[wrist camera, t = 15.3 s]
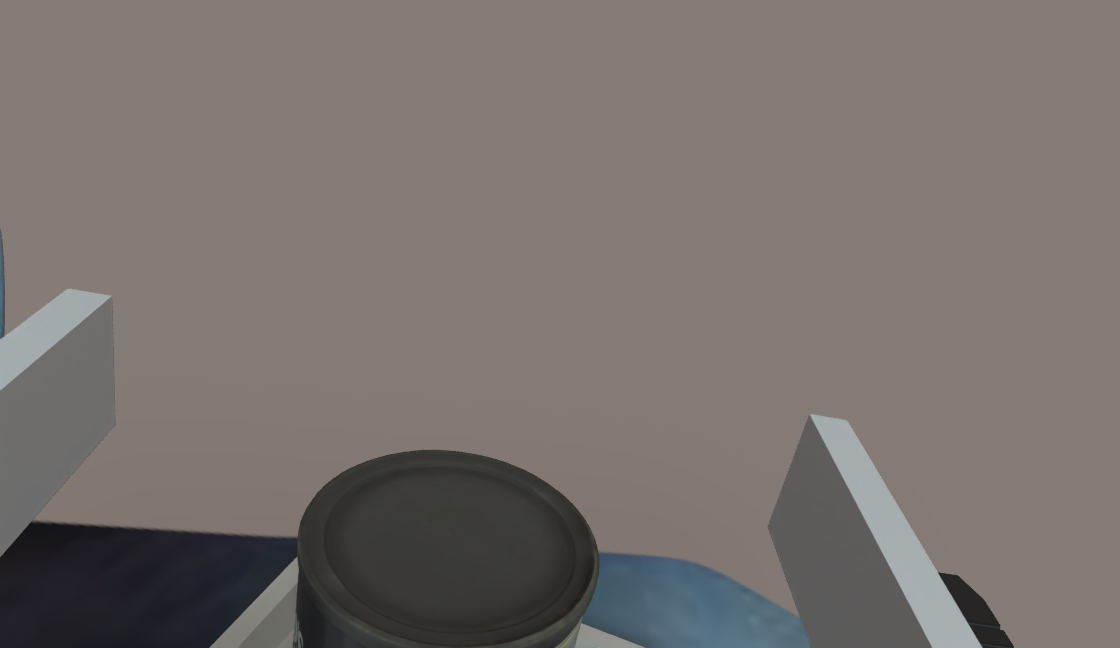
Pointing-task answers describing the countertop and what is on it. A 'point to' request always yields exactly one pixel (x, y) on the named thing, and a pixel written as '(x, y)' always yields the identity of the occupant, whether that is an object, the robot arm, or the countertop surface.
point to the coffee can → (442, 557)
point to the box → (268, 623)
